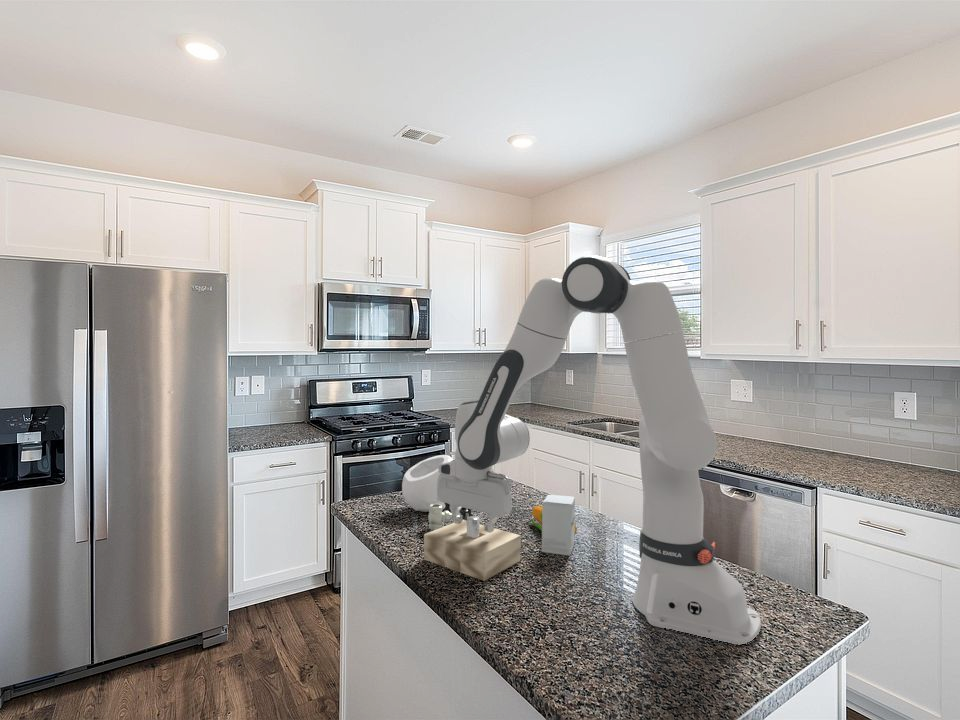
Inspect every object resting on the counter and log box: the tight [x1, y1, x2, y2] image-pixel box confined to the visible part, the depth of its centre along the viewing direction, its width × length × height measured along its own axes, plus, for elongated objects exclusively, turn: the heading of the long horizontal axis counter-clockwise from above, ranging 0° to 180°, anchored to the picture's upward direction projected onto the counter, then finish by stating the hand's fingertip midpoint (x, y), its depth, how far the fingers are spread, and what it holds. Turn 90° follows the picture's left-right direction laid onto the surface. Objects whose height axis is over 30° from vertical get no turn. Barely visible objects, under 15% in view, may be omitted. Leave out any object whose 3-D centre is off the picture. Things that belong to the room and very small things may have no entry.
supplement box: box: [541, 494, 576, 556], centre depth 130 cm, size 7×7×13 cm
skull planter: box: [401, 454, 462, 513], centre depth 162 cm, size 14×20×19 cm
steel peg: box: [467, 515, 481, 540], centre depth 123 cm, size 3×3×10 cm
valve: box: [427, 504, 474, 531], centre depth 146 cm, size 7×7×12 cm
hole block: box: [423, 520, 522, 582], centre depth 123 cm, size 18×14×6 cm
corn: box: [529, 505, 578, 537], centre depth 143 cm, size 7×8×20 cm
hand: (473, 527), depth 123 cm, fingers open, 8 cm apart
